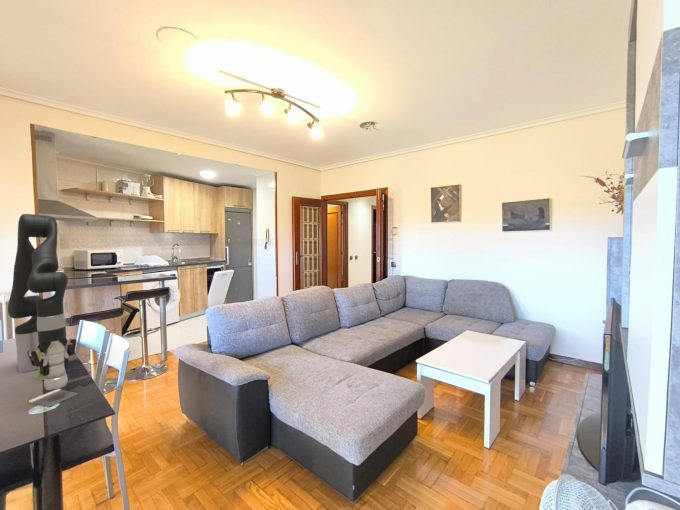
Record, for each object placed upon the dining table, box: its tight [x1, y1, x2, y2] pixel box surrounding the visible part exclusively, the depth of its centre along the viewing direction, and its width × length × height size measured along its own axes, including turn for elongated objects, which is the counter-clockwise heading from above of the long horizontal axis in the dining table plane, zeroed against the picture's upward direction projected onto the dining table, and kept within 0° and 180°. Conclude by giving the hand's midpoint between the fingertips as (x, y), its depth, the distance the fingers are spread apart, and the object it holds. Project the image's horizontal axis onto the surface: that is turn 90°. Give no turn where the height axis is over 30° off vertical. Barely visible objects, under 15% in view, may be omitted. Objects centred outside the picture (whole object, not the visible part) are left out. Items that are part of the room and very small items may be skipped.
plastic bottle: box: [42, 340, 69, 392], centre depth 111 cm, size 6×7×20 cm
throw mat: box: [28, 388, 79, 408], centre depth 113 cm, size 12×9×1 cm
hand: (55, 371), depth 112 cm, fingers closed on plastic bottle, 5 cm apart
